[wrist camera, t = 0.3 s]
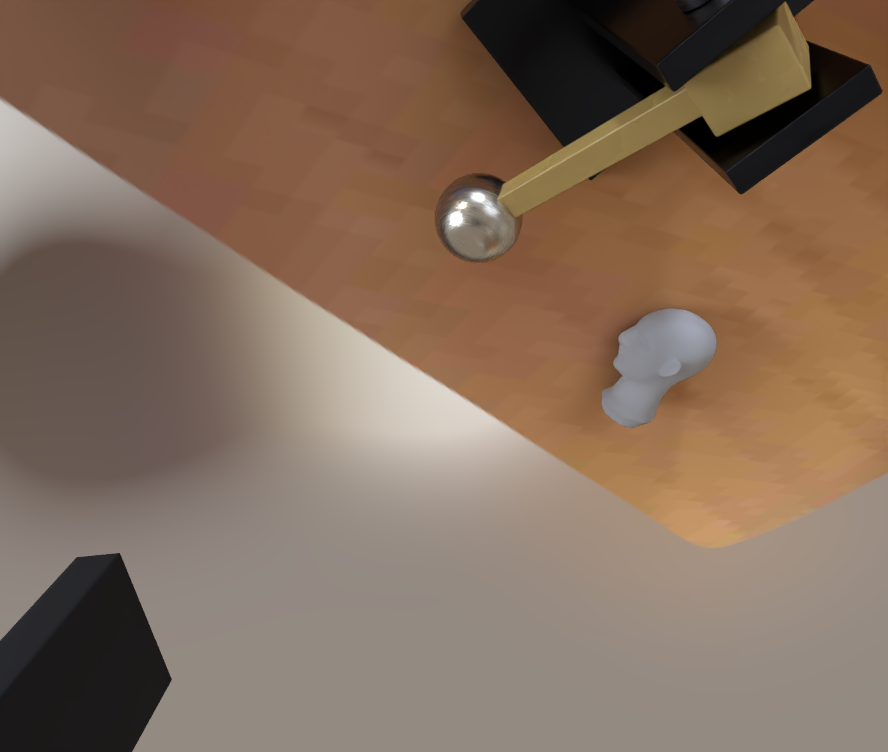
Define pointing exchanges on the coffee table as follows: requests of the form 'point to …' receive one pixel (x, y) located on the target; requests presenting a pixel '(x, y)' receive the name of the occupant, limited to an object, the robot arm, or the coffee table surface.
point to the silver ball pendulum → (630, 136)
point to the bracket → (660, 71)
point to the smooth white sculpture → (656, 362)
